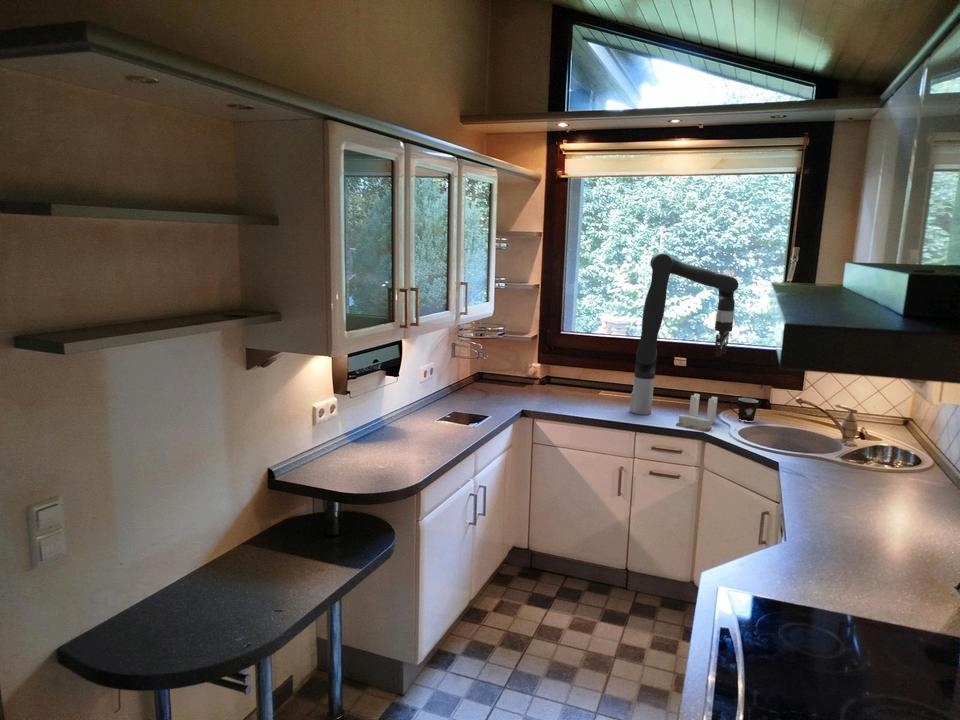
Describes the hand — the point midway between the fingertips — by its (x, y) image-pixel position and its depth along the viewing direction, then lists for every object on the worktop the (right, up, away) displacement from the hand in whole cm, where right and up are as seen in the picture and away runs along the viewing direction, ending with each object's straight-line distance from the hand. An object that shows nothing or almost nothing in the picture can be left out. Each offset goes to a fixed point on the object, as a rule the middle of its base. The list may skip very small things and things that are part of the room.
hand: (720, 355), depth 304 cm
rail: (-15, -31, -10) cm, 36 cm away
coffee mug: (+12, -31, +5) cm, 33 cm away
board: (-16, -32, -10) cm, 37 cm away
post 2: (-5, -31, -2) cm, 31 cm away
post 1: (-12, -30, +3) cm, 32 cm away
